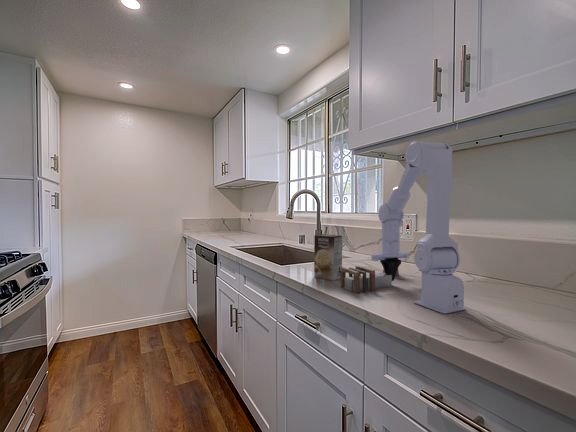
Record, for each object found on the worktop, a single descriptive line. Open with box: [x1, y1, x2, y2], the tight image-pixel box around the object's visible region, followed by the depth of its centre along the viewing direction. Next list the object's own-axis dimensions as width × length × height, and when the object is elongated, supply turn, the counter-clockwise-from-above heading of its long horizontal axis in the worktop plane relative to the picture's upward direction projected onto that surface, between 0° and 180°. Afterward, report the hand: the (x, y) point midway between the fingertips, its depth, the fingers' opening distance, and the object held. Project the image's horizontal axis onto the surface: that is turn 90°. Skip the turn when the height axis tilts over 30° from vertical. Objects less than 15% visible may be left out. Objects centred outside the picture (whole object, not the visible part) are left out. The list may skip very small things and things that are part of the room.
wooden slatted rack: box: [339, 265, 376, 295], centre depth 93 cm, size 8×7×6 cm
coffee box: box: [313, 233, 343, 281], centre depth 110 cm, size 9×6×16 cm
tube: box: [344, 272, 393, 293], centre depth 95 cm, size 16×4×4 cm, turn 113°
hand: (390, 280), depth 99 cm, fingers closed
